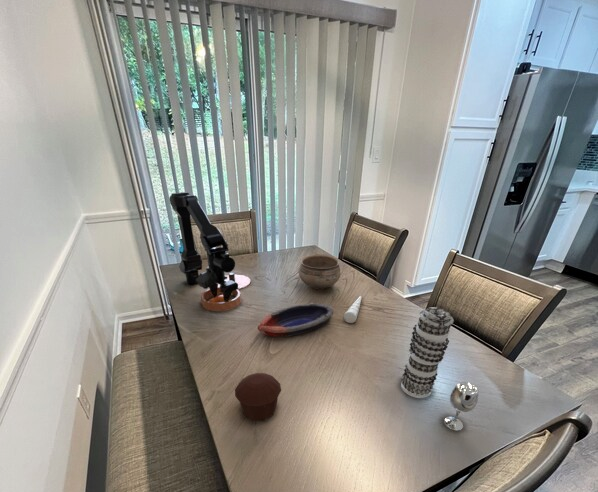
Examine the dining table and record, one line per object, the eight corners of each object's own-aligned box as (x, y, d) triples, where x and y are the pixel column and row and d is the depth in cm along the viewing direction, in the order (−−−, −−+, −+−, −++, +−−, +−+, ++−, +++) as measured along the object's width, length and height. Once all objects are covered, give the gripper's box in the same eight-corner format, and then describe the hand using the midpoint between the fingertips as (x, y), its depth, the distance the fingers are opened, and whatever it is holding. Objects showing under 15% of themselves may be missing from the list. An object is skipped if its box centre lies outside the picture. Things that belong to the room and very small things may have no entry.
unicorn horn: (369, 298, 139) (371, 288, 137) (354, 325, 121) (356, 314, 118) (358, 296, 141) (360, 286, 138) (342, 322, 123) (343, 311, 120)
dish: (342, 325, 120) (343, 314, 118) (266, 347, 108) (265, 335, 106) (320, 308, 132) (321, 297, 129) (249, 325, 120) (248, 314, 117)
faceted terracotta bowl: (194, 303, 134) (193, 294, 132) (225, 291, 144) (224, 283, 142) (217, 316, 125) (216, 307, 123) (248, 302, 135) (247, 294, 133)
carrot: (212, 307, 130) (211, 301, 128) (208, 305, 132) (207, 298, 130) (234, 298, 137) (233, 292, 135) (230, 296, 139) (229, 290, 137)
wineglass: (437, 415, 84) (449, 380, 77) (458, 414, 84) (472, 379, 78) (447, 433, 79) (462, 397, 72) (470, 431, 79) (486, 396, 73)
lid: (206, 284, 150) (205, 273, 147) (235, 273, 160) (234, 264, 158) (229, 295, 141) (227, 284, 138) (258, 283, 151) (257, 273, 148)
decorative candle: (396, 376, 97) (413, 302, 83) (427, 377, 96) (449, 303, 83) (403, 398, 89) (423, 321, 75) (437, 399, 89) (463, 322, 75)
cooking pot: (351, 292, 144) (354, 266, 137) (315, 301, 136) (316, 274, 130) (322, 273, 162) (323, 249, 156) (288, 280, 155) (288, 255, 148)
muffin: (243, 430, 79) (239, 401, 74) (232, 400, 88) (228, 372, 82) (288, 416, 83) (287, 387, 78) (273, 388, 92) (272, 361, 86)
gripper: (184, 263, 125) (191, 299, 134) (212, 277, 115) (218, 315, 123) (208, 256, 132) (213, 291, 141) (237, 268, 122) (240, 305, 130)
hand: (220, 300), depth 134 cm, fingers open, 7 cm apart
